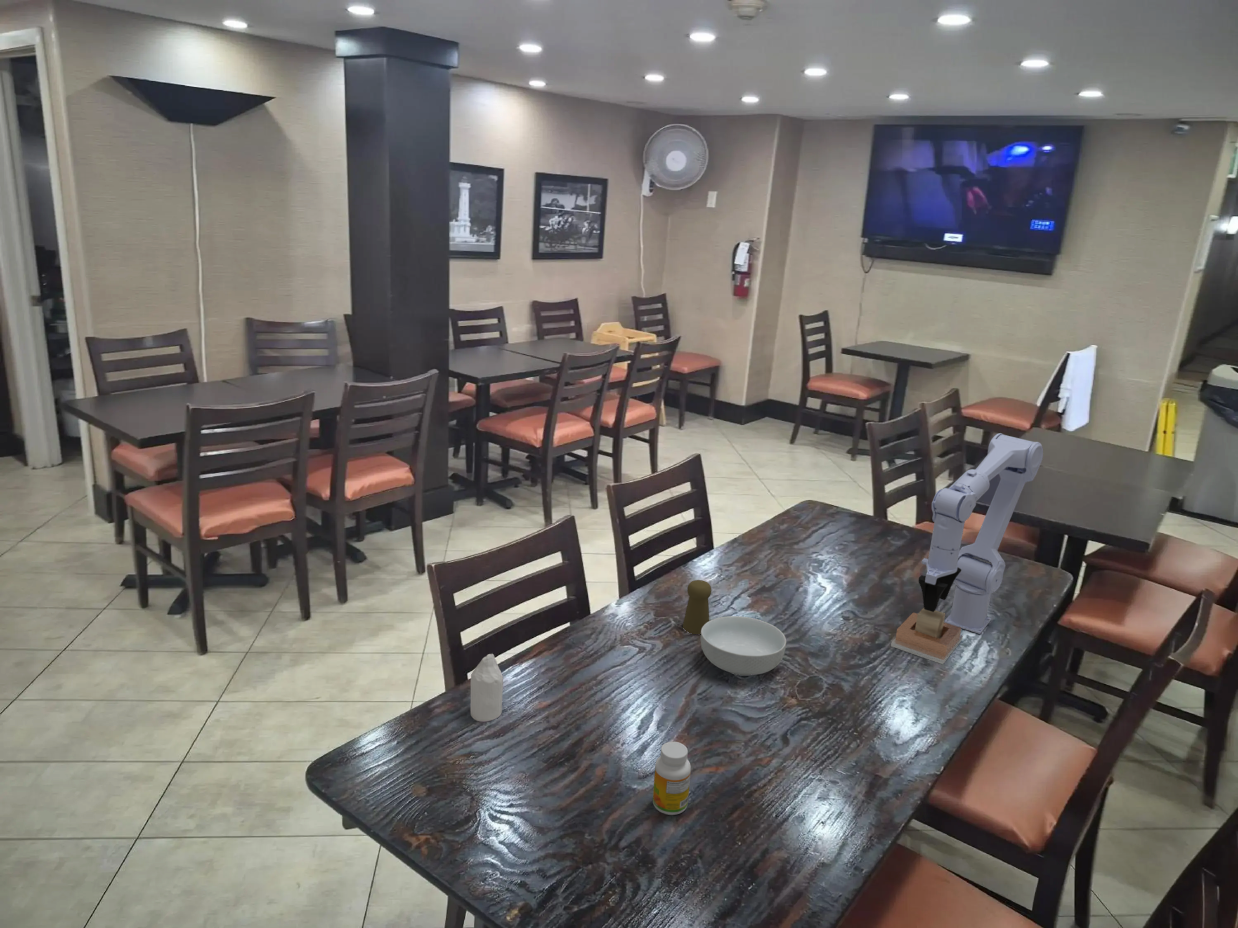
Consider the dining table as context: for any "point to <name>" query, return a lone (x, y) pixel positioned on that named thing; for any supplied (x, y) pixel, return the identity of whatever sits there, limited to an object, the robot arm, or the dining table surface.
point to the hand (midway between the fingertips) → (934, 603)
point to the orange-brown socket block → (927, 641)
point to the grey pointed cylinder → (486, 690)
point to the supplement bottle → (672, 779)
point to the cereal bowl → (742, 645)
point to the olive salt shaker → (697, 606)
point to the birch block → (930, 623)
